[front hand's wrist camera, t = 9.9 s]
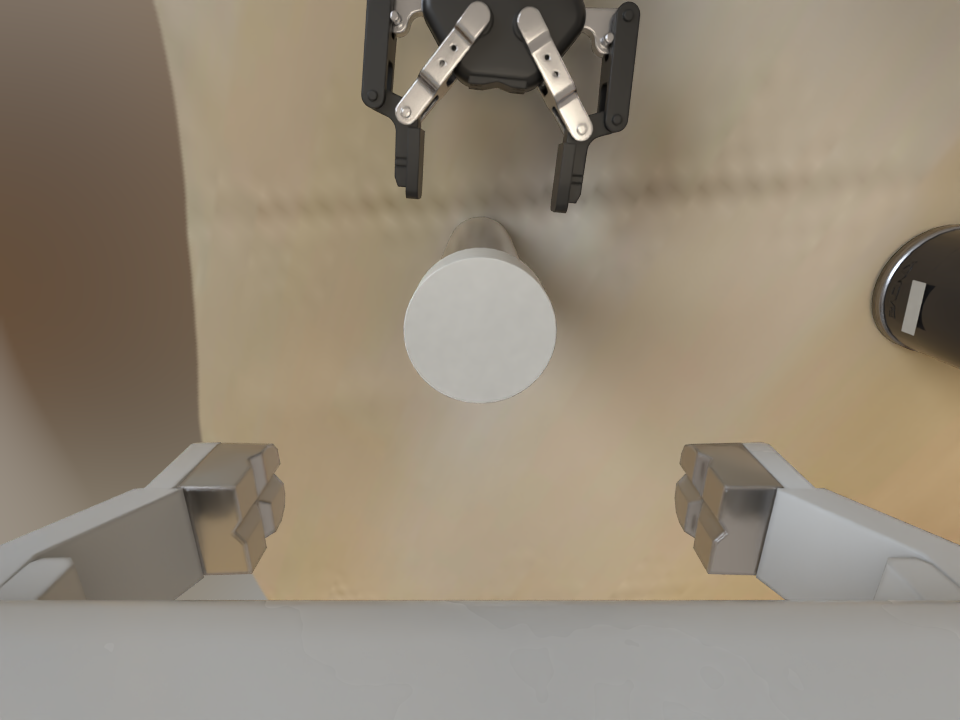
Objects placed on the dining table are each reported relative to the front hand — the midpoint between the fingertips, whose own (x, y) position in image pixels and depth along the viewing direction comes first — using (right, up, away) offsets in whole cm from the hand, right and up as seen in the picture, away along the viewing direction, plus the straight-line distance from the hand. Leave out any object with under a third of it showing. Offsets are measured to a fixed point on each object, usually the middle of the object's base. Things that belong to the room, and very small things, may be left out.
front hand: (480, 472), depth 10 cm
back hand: (0, +11, +20) cm, 23 cm away
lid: (0, +3, +9) cm, 9 cm away
